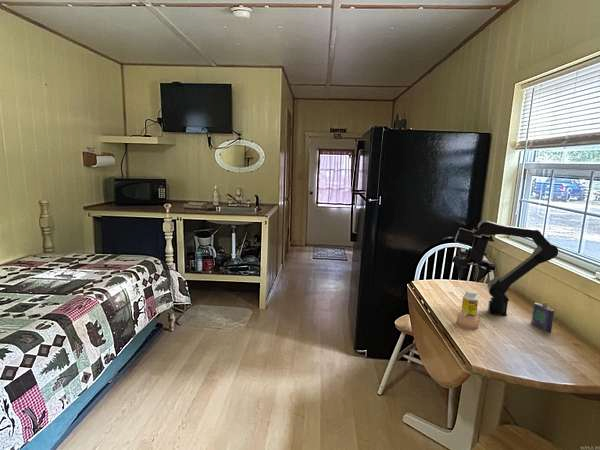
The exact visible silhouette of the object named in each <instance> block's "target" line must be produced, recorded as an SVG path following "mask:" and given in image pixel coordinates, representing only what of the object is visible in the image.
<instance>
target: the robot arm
mask: <svg viewBox="0 0 600 450" xmlns="http://www.w3.org/2000/svg"><path fill="white" fill-rule="evenodd" d="M497 235H498V236H499V235H503V236H504V235H505V236H510V237H513V236H514V237H521V238H526V239H531V240H532V241H533V243H535V245H536V246H537V247H536V248H534V250H533V252H532V253H531V255H530V256H528V257H527V258H526V259H525V260H523V261H522V262H520V263H519V264H518V265H516V266H515V267H514V268H513V269H511V270H510V271H509V272H507V273H506V274H505V275H504V276H501V277H500V276H499V277H498V276H497V275H496V276H494V277H493V278H492V279H490V280H488V283H487V287H486V288H487V291H488V293H489V295H490V296H491V297H490V300H488V304H487V305H488V306H487V310H488V312H489V313H490V314H491V315H495V316H503V317H508V314H507V311H508V310H507V309H508V303H509V301H510V299H509V297H508V295H507V292H508V290H509V288H510V287H511V286H512V285H513V284H515V282H517V281H518V280H520V279H521V278H522V277H524V276H525V275H526V274H528V273H529V272H530V271H531V270H534V269H535V267H537V266H538V265H540V264H543V263H546V262H549V261H551V260H552V259H554V258H556V257H558V255H559V249H558V247H557V246H556V245H554V244H553V243H551V242H549V240H548V239H547V238H546V237H545V236H544V235H543V234H542V233H541V231H540V230H539V229H537V228H529V227H521V226H520V227H518V226H513V225H512V226H511V225H504V224H500V223H497V222H493V221H490V220H486V219H485V220H481V221H479V223H478V224H477V226H476V227H474V228H472V229H471V230H468V229H466V228H463V227H459V229H458V231H457V233H456V234H455V238H454V243H456V244H461V245H464V246H469V245H472V246H471V247H469V248H468V249H467V250H465V248H459V247H458V249H457V251H456V254H457V255H455V256H453V257H452V260H451V262H453V264H454V265H455V266H456V269H457V276H458V278H457V279H458V280H459V281H461V280H462V278H463V277H464V275H465V274H466V271H467V269H468V265H469V266H475V267H477V269H478V271H477V274H476V279H475V283H479V282H480V281H481V280H482V279H484V277H485V276H487V275H488V274H489V273H492V271H493V272H494V271H495V269H496V264H495V263H493V262H491V261H489V260H485V259H484V256H487V255H488V253H487V252H486V251H487V248H488V245H489V242H492V243H494V242H495V240H494V238H493V236H497Z"/></svg>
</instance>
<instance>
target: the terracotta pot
mask: <svg viewBox="0 0 600 450" xmlns="http://www.w3.org/2000/svg"><path fill="white" fill-rule="evenodd" d="M456 315H457V317H456V325H457V327H459V328H461V329H466V330H468V331H469V330H470V331H474V330H478V329H479V323H480V316H479V315H477V314H476V317H475V318H467V317H464V316H463V315H462V314H461V311H459V312H458V313H457V314H456Z"/></svg>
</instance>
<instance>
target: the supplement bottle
mask: <svg viewBox="0 0 600 450" xmlns="http://www.w3.org/2000/svg"><path fill="white" fill-rule="evenodd" d="M461 302H462V303H461V311H460V312H461V314H462V315H463V316H464V317H467V318H475V317H476V315H477V312H478V303H479V297H478V293H477V291H476V290H471V289H468V290H467V289H466V291H465V294H463V296H462V301H461Z"/></svg>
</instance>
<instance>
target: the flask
mask: <svg viewBox="0 0 600 450" xmlns="http://www.w3.org/2000/svg"><path fill="white" fill-rule="evenodd" d="M532 309H533V310H532V315H531V321H530V322H531V323H530V324H532V325H534V326H535V327H537V328H540V330H542V331H544V332H545V333H546V332H547V333H552V330H553V329H552V328H553V323H554V321H553V320H554V315H555V310H554V309H552V308H551V307H549V305H548V302H546V301H542V302H541V303H540V302H534V303H533V308H532Z"/></svg>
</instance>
